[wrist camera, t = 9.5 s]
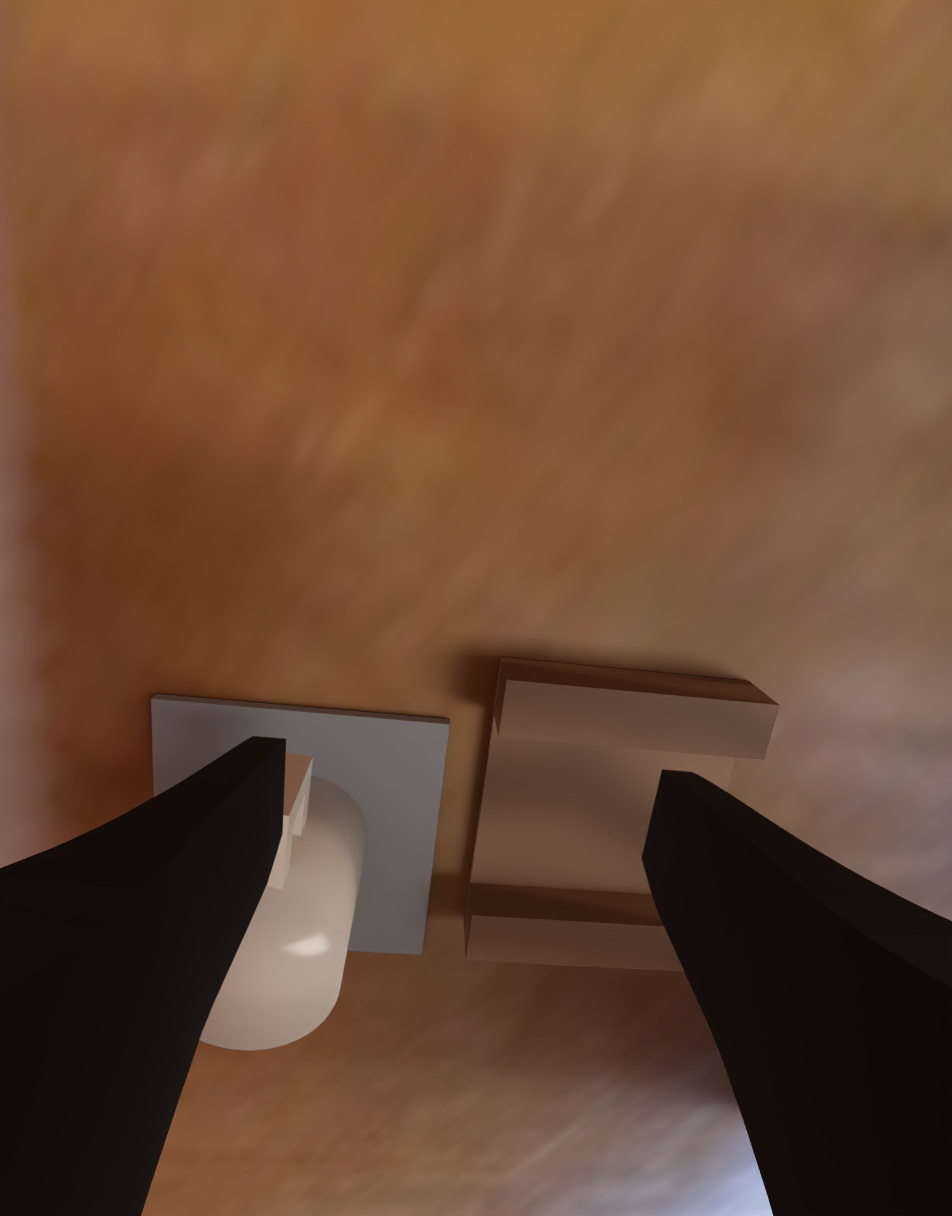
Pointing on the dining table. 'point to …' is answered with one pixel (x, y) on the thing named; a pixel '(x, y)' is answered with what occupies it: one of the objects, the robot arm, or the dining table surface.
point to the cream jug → (296, 921)
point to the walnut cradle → (591, 805)
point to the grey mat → (354, 761)
